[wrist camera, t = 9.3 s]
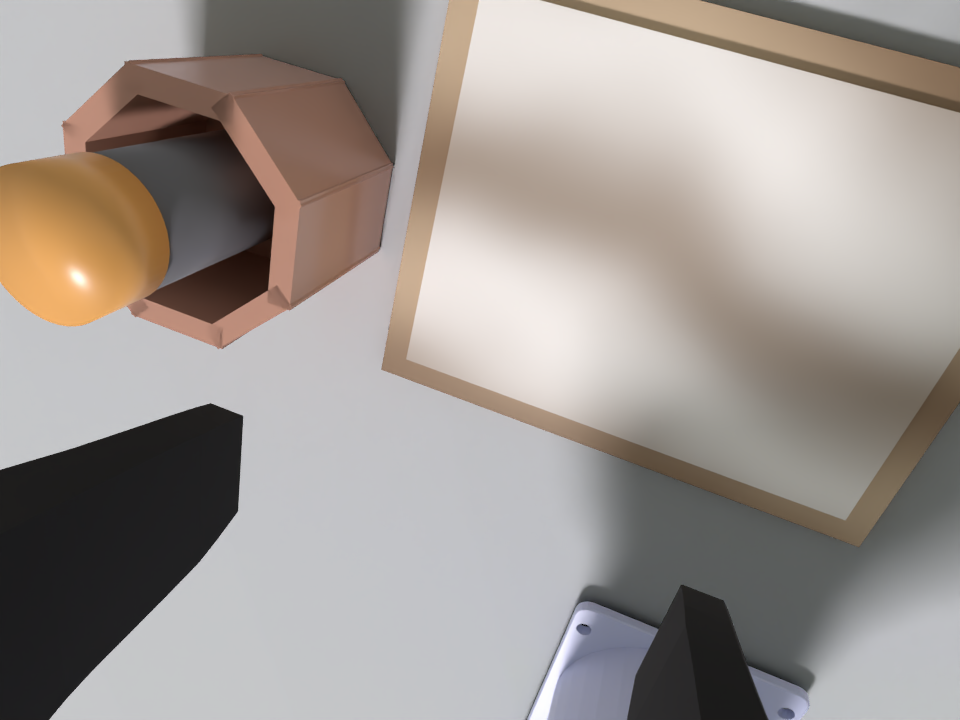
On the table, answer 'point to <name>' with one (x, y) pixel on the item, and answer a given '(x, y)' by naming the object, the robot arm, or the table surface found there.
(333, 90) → the pen cup
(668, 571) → the table surface
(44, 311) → the marker
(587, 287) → the wooden picture frame
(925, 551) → the table surface
